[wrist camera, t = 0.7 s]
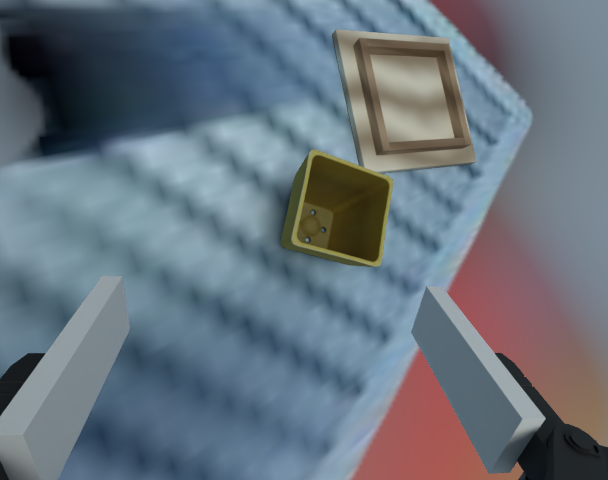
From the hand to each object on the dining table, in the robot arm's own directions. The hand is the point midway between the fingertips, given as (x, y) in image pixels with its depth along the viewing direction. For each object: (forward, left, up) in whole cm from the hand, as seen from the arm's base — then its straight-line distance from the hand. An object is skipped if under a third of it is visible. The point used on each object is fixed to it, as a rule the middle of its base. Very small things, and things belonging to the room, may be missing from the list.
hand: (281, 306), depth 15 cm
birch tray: (-20, +28, -20) cm, 40 cm away
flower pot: (-6, +11, -21) cm, 24 cm away
